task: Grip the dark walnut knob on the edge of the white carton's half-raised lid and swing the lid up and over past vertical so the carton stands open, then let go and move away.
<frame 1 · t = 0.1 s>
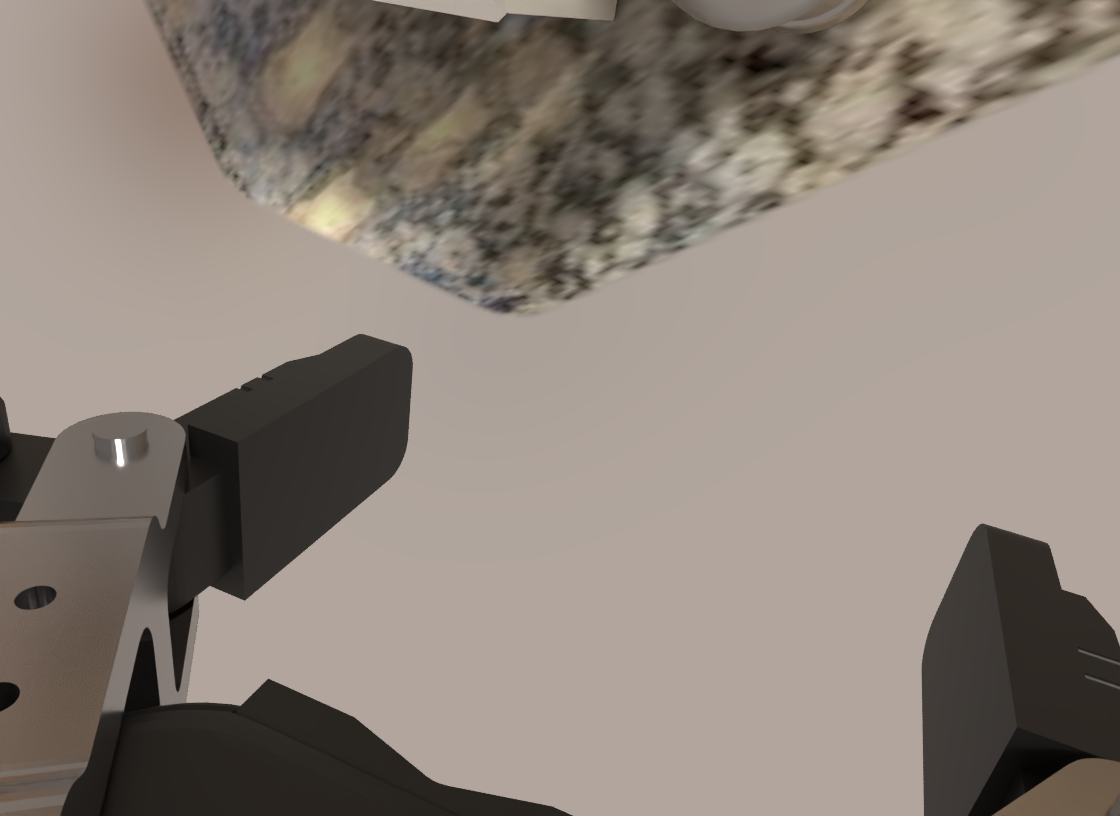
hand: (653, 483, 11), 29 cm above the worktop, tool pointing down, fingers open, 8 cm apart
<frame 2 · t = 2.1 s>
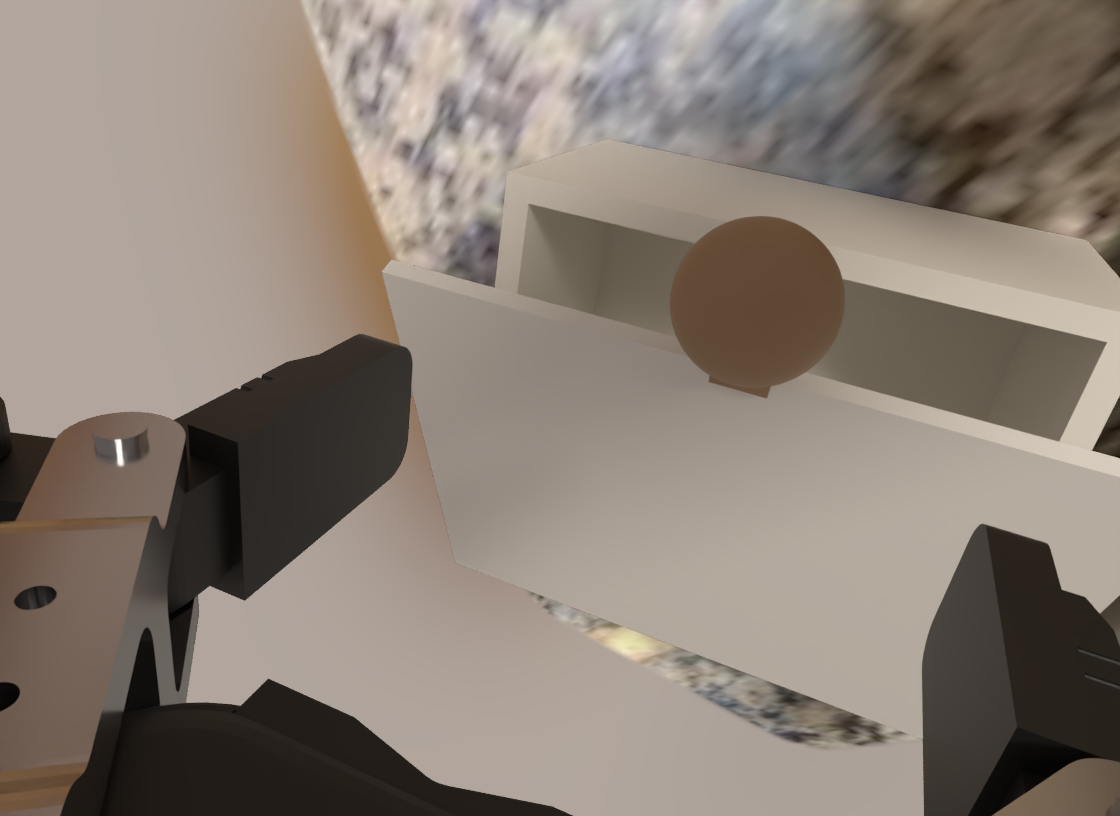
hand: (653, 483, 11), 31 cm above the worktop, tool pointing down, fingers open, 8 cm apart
carton lid: (709, 518, 27), point 18 cm above the worktop, hinge at 25.0°
carton: (778, 360, 42), on the worktop
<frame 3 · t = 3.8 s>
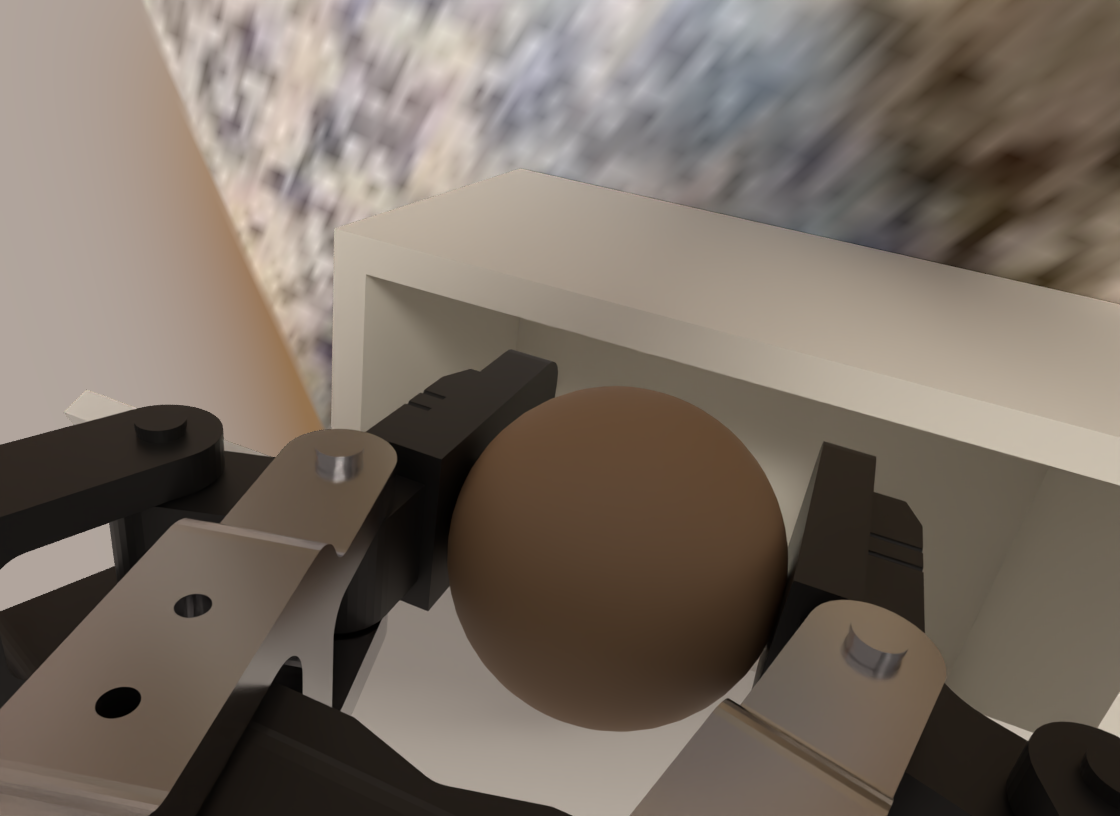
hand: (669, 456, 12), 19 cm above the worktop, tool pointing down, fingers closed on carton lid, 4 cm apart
carton lid: (604, 781, 17), point 18 cm above the worktop, hinge at 25.0°, touching gripper
carton: (743, 453, 33), on the worktop
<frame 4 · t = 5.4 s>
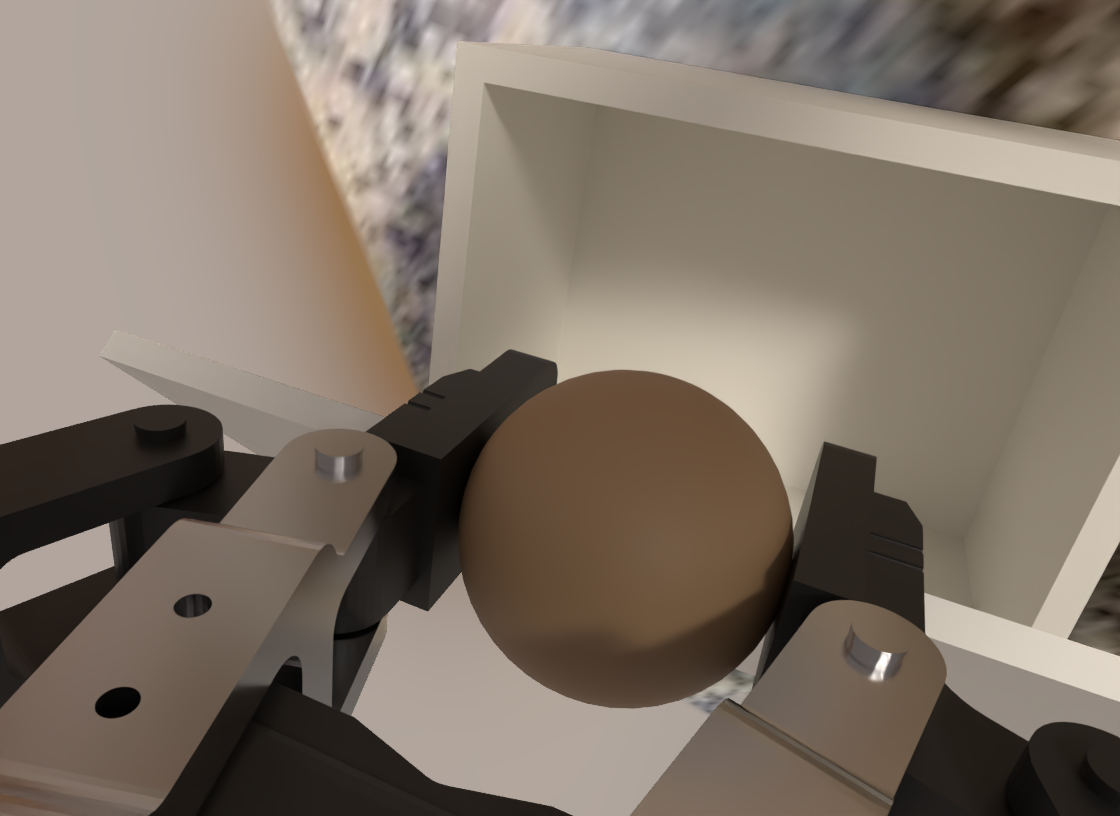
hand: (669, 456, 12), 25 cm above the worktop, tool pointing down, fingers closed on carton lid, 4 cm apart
carton lid: (658, 625, 19), point 21 cm above the worktop, hinge at 45.9°, touching gripper
carton: (788, 309, 36), on the worktop
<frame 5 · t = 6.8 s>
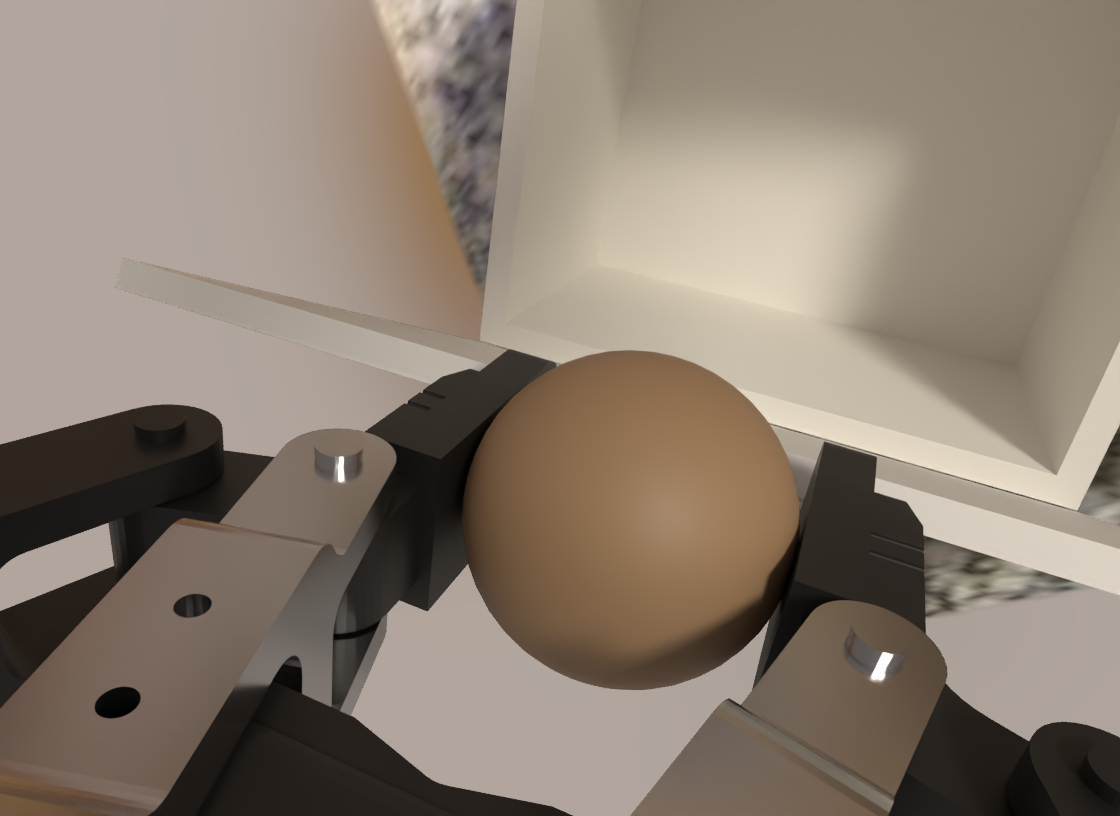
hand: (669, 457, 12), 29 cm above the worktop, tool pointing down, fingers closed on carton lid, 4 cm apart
carton lid: (708, 467, 19), point 23 cm above the worktop, hinge at 67.6°, touching gripper
carton: (840, 138, 37), on the worktop
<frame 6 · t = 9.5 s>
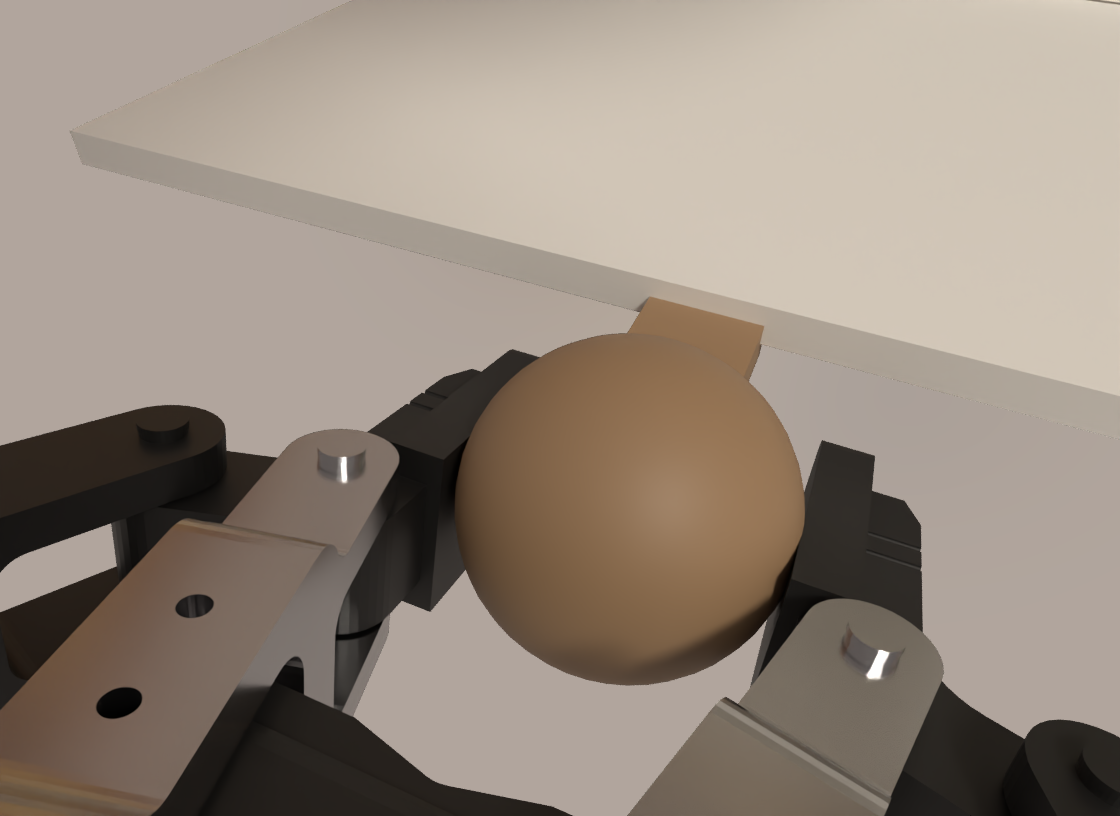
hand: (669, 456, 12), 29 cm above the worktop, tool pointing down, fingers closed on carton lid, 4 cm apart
carton lid: (787, 173, 16), point 23 cm above the worktop, hinge at 106.3°, touching gripper
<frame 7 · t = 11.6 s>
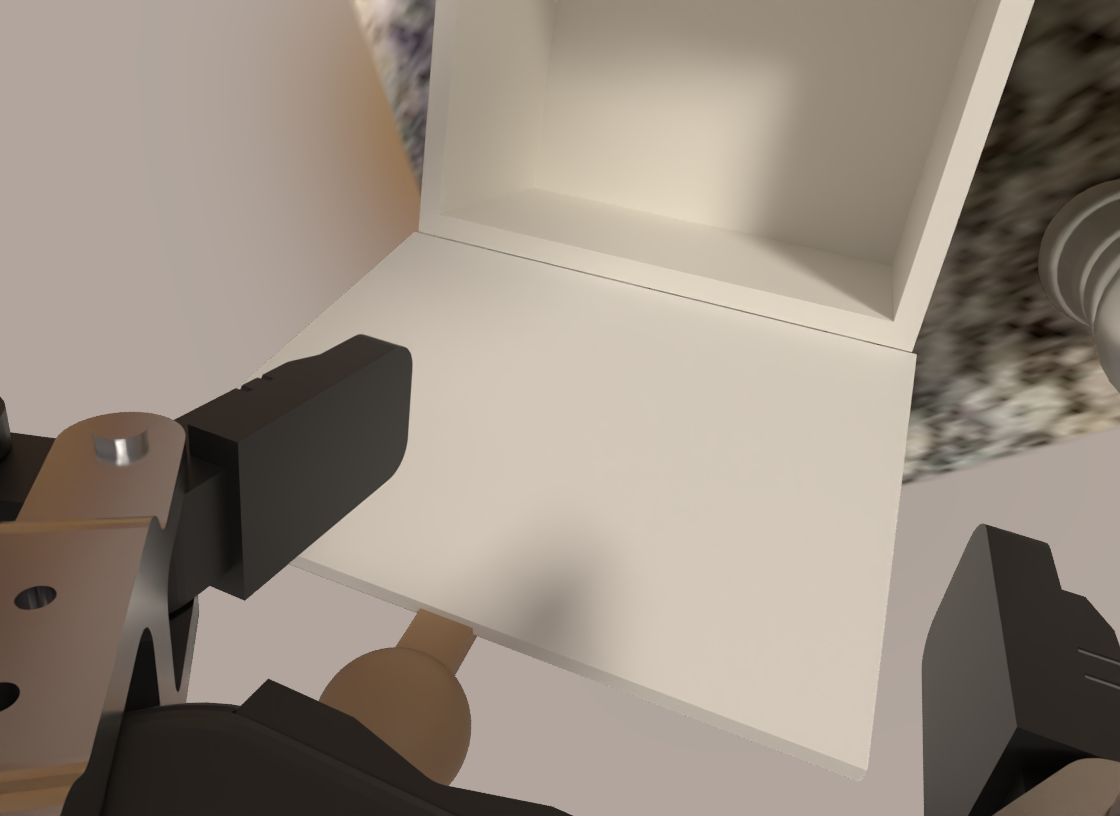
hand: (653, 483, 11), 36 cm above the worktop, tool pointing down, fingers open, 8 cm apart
carton lid: (538, 483, 28), point 23 cm above the worktop, hinge at 107.1°
plastic bottle: (1106, 243, 39), on the worktop
carton: (738, 66, 42), on the worktop
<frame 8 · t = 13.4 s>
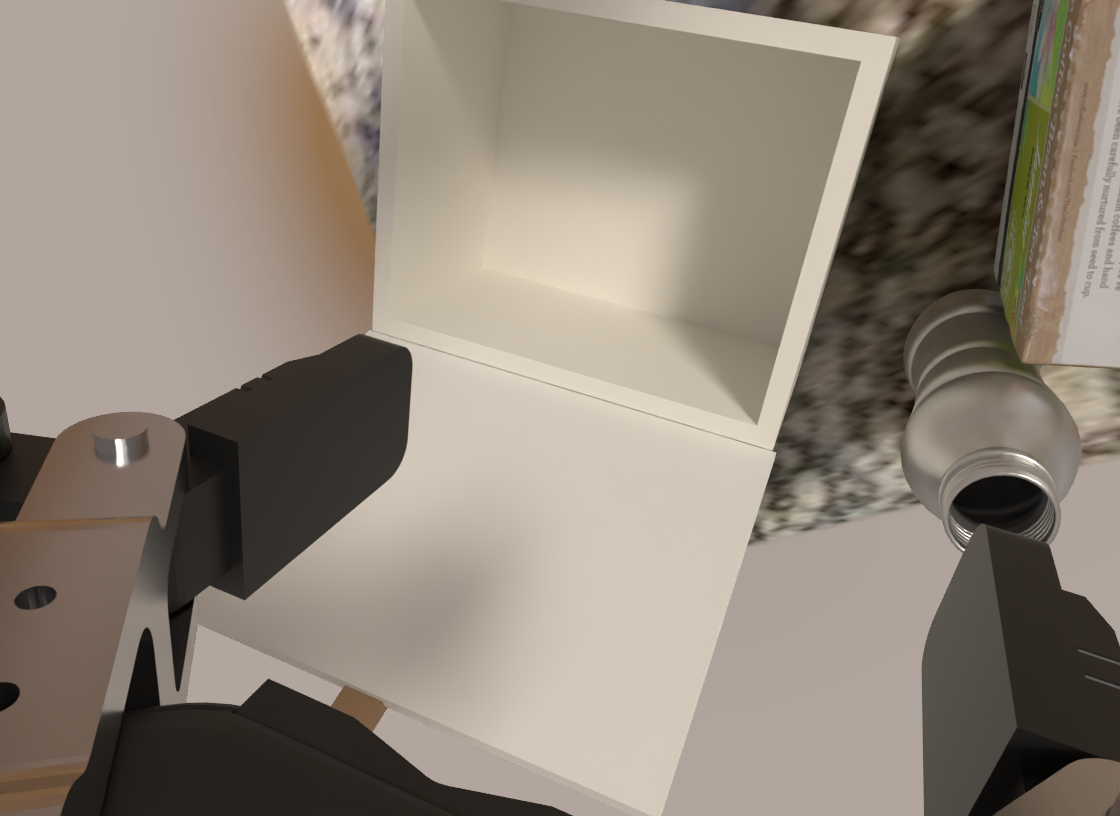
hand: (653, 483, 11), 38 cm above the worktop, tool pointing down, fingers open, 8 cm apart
carton lid: (451, 571, 35), point 23 cm above the worktop, hinge at 107.1°
plastic bottle: (967, 337, 45), on the worktop
carton: (655, 174, 48), on the worktop
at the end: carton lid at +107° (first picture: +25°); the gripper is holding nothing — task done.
